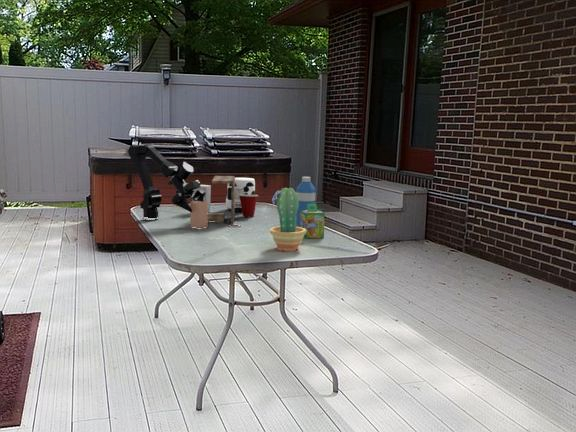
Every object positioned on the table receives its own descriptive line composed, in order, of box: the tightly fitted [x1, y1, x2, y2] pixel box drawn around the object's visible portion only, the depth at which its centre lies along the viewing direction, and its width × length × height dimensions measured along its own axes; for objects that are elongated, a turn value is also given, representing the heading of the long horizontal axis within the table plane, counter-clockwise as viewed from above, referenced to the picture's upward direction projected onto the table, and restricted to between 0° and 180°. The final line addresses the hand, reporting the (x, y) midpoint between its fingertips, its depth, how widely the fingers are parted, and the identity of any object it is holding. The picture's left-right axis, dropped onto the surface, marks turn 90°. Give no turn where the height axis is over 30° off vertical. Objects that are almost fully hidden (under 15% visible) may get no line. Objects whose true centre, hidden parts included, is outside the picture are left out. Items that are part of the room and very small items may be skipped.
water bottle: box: [295, 176, 317, 227], centre depth 283 cm, size 9×9×25 cm
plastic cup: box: [239, 194, 259, 218], centre depth 315 cm, size 11×11×12 cm
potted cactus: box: [269, 187, 307, 252], centre depth 239 cm, size 15×15×25 cm
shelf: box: [207, 175, 236, 226], centre depth 300 cm, size 14×24×22 cm, turn 4°
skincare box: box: [192, 184, 212, 214], centre depth 321 cm, size 8×7×16 cm
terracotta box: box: [189, 201, 208, 229], centre depth 280 cm, size 6×6×12 cm
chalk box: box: [300, 203, 326, 239], centre depth 265 cm, size 9×9×15 cm
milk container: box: [225, 177, 256, 212], centre depth 333 cm, size 17×17×18 cm
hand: (198, 210), depth 280 cm, fingers open, 9 cm apart
